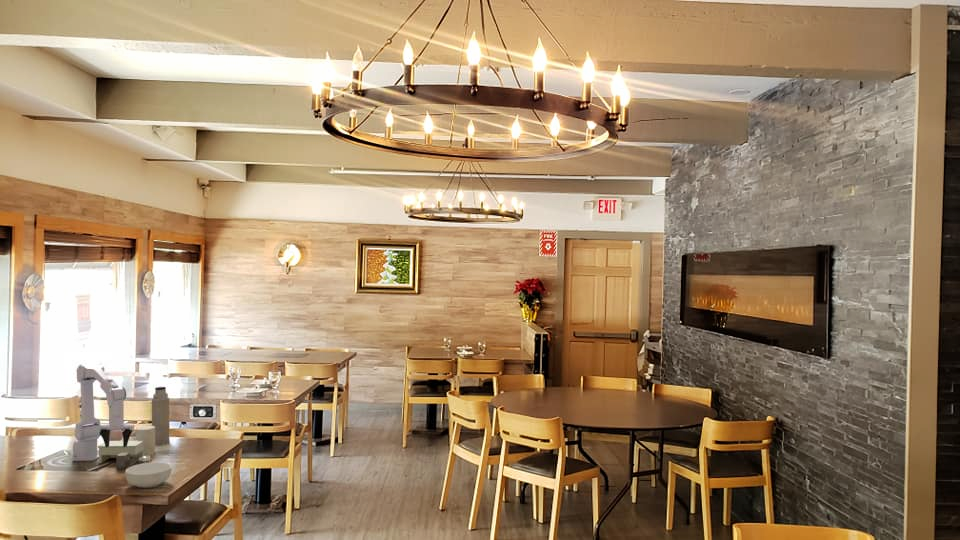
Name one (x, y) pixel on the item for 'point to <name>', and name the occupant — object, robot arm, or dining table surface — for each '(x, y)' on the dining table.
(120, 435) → the decorative fruit
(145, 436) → the beige cylinder
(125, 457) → the dark grey long block
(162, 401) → the thermos bottle
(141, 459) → the token
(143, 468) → the cereal bowl
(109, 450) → the pale green rectangular block
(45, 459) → the dining table surface
